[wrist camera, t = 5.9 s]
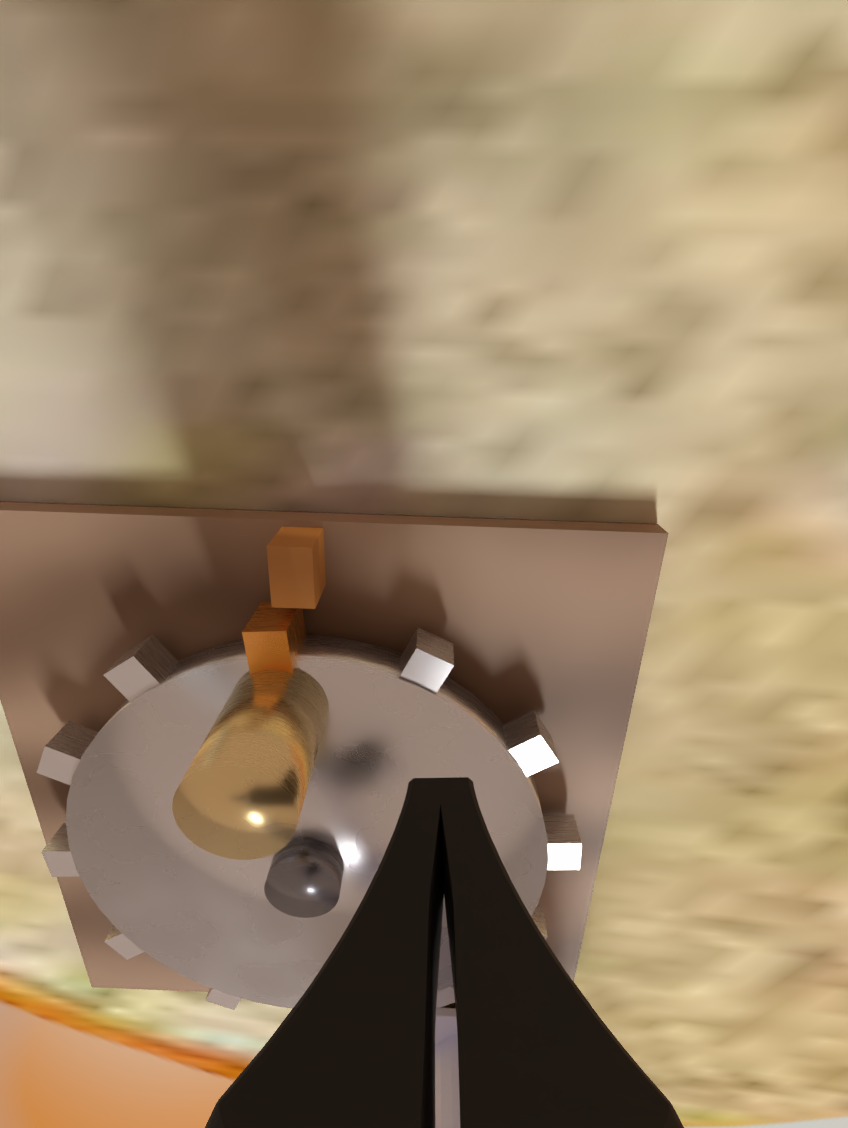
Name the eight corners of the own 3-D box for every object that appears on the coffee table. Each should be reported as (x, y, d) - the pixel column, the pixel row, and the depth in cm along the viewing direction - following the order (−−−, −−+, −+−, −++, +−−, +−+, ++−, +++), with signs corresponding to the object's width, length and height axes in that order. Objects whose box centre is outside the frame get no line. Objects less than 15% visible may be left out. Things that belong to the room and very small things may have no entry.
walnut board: (564, 986, 25) (577, 1049, 23) (102, 968, 25) (70, 1029, 23) (658, 524, 17) (691, 553, 14) (-39, 500, 17) (-111, 525, 15)
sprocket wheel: (559, 985, 23) (593, 1168, 18) (131, 988, 24) (49, 1165, 19) (589, 592, 16) (660, 709, 11) (-16, 610, 17) (-210, 730, 12)
